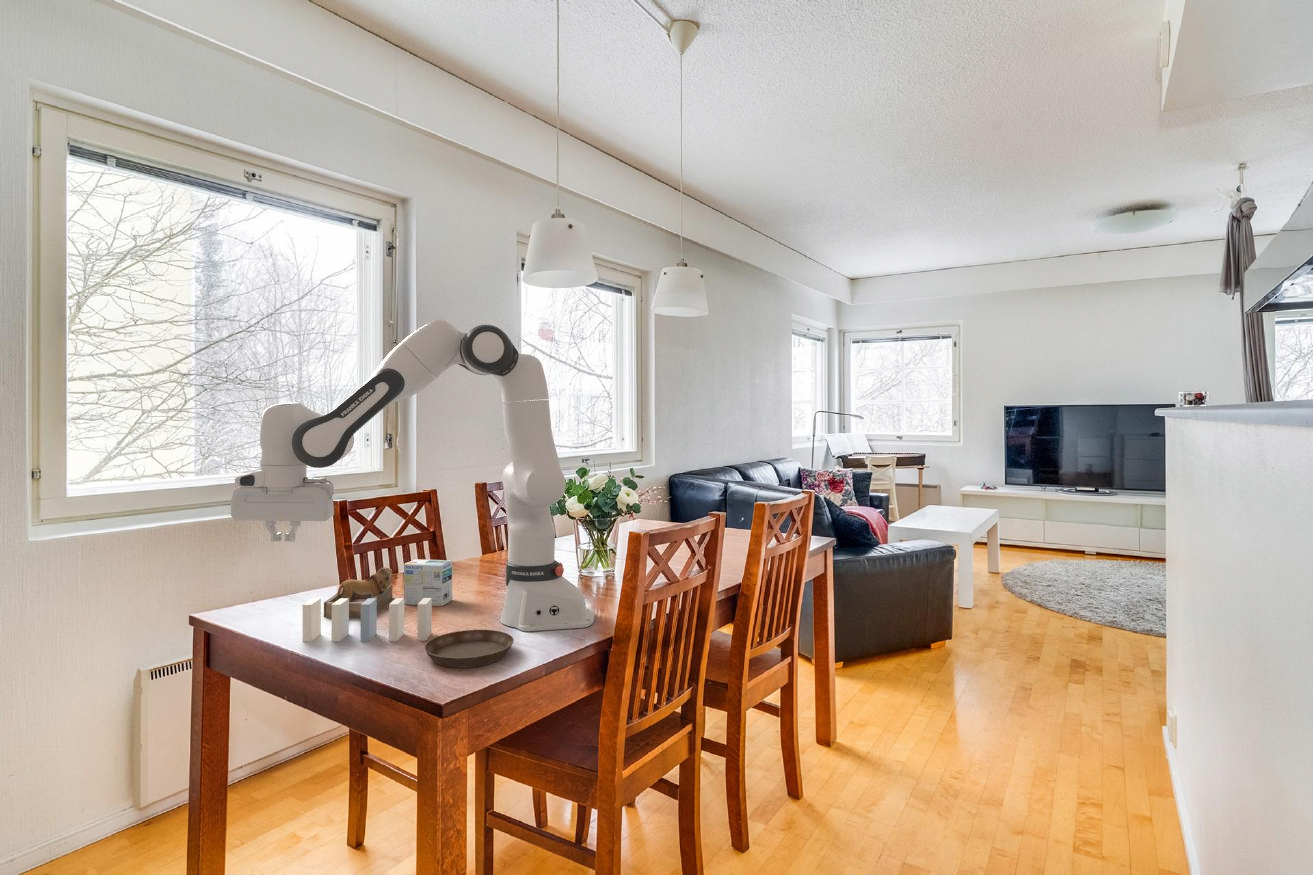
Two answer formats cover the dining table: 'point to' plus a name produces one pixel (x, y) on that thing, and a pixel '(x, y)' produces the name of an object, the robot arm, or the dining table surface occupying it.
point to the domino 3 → (368, 619)
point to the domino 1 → (311, 619)
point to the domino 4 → (396, 619)
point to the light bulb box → (428, 581)
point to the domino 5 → (424, 619)
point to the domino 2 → (340, 619)
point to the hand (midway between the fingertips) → (283, 541)
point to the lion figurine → (367, 584)
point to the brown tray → (356, 606)
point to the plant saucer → (468, 648)
